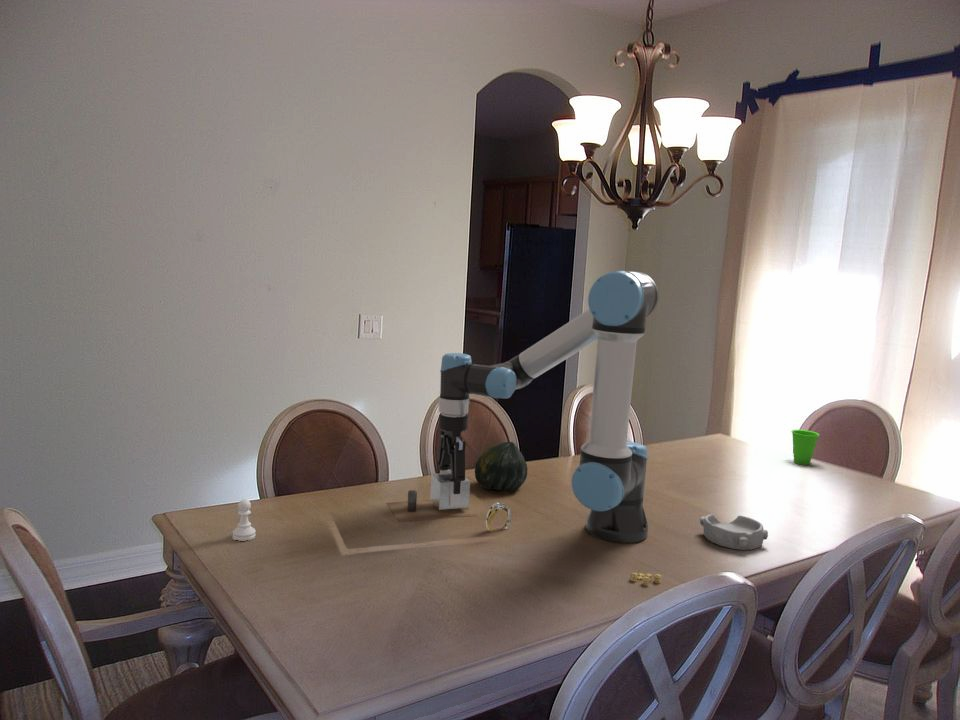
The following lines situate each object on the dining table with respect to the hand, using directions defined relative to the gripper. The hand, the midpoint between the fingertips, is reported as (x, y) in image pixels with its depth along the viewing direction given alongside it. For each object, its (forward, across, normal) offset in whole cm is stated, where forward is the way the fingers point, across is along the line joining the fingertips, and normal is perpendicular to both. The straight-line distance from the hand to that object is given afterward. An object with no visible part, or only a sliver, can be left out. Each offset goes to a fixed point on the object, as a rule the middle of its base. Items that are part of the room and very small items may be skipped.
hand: (449, 499), depth 189 cm
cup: (+4, +21, -138) cm, 140 cm away
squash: (+4, +16, -21) cm, 27 cm away
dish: (+4, -34, -63) cm, 72 cm away
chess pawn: (+4, -6, +51) cm, 51 cm away
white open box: (+1, 0, 0) cm, 1 cm away
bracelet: (+4, -17, -7) cm, 19 cm away
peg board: (+3, 0, +5) cm, 6 cm away
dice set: (+4, -48, -28) cm, 56 cm away
